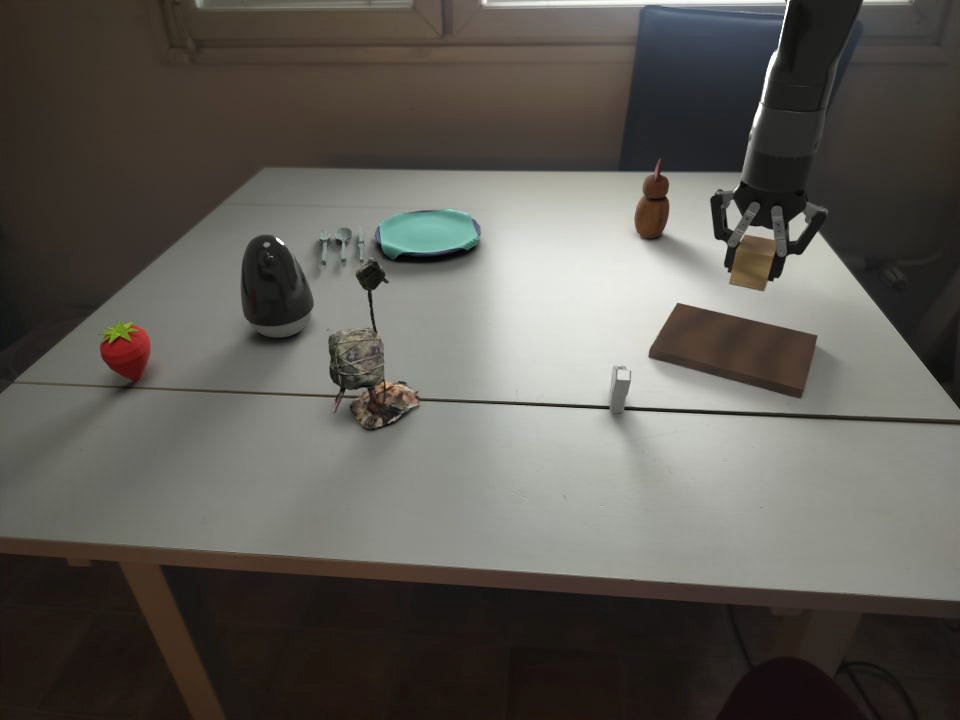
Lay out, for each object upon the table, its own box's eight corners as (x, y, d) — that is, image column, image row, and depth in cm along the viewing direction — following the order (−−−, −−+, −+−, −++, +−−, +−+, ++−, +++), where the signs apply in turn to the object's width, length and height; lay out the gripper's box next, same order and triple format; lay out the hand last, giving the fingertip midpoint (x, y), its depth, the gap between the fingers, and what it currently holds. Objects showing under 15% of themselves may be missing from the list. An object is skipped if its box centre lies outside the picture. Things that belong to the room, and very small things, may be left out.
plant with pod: (327, 400, 87) (300, 262, 75) (411, 381, 90) (397, 245, 78) (338, 440, 80) (310, 296, 69) (428, 418, 83) (416, 276, 72)
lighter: (609, 391, 87) (615, 341, 82) (623, 392, 87) (629, 342, 82) (609, 427, 81) (616, 375, 77) (624, 428, 81) (631, 376, 76)
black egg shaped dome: (253, 354, 96) (227, 258, 87) (245, 319, 104) (221, 228, 95) (323, 338, 99) (306, 244, 90) (311, 305, 106) (294, 216, 98)
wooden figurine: (658, 244, 122) (670, 163, 113) (628, 238, 124) (637, 158, 116) (669, 230, 127) (681, 152, 118) (640, 224, 129) (650, 147, 120)
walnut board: (815, 344, 95) (817, 335, 94) (800, 398, 85) (804, 389, 84) (675, 310, 103) (677, 302, 102) (648, 357, 93) (649, 348, 92)
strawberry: (166, 360, 95) (144, 300, 89) (155, 393, 89) (131, 329, 83) (122, 366, 94) (97, 305, 88) (108, 399, 88) (80, 335, 82)
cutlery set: (489, 258, 119) (489, 247, 117) (319, 274, 115) (316, 262, 114) (472, 214, 135) (472, 204, 133) (322, 227, 131) (320, 216, 130)
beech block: (770, 275, 88) (779, 240, 85) (763, 291, 85) (773, 256, 82) (736, 268, 90) (744, 234, 87) (728, 284, 87) (736, 249, 84)
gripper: (853, 142, 77) (813, 274, 87) (727, 127, 83) (702, 252, 93) (847, 162, 72) (805, 300, 82) (712, 144, 77) (688, 275, 87)
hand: (751, 274), depth 87 cm, fingers closed on beech block, 4 cm apart
